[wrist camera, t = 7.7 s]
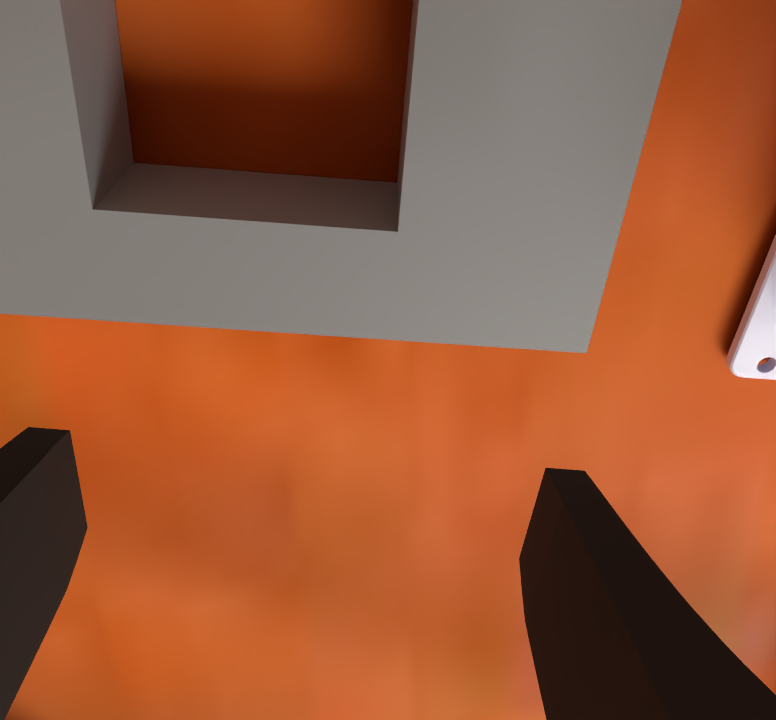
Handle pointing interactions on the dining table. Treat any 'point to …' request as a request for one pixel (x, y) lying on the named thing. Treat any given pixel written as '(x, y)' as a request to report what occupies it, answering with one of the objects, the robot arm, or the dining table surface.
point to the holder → (341, 186)
